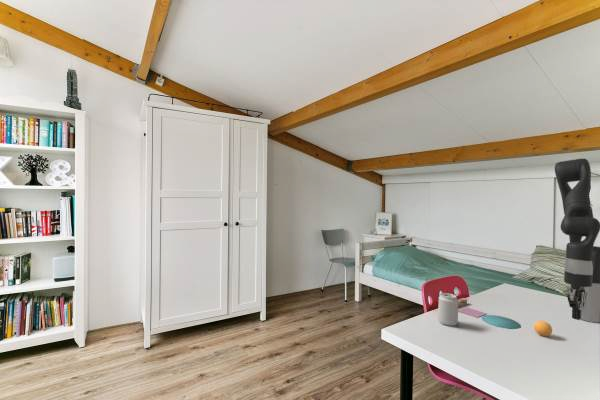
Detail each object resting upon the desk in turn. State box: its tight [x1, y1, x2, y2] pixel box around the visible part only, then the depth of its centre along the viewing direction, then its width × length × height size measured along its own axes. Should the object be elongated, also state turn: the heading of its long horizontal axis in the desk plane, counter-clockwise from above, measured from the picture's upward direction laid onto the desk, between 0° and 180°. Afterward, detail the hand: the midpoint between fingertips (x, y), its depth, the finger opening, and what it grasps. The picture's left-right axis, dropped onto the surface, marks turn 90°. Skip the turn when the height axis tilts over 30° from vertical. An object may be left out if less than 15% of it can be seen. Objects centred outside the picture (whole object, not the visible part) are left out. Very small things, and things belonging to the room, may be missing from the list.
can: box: [437, 292, 459, 327], centre depth 127 cm, size 8×8×12 cm
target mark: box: [481, 314, 522, 330], centre depth 130 cm, size 14×14×1 cm
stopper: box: [457, 297, 468, 308], centre depth 147 cm, size 20×2×2 cm, turn 124°
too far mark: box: [458, 307, 488, 318], centre depth 140 cm, size 9×9×1 cm
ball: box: [533, 320, 553, 337], centre depth 118 cm, size 6×6×6 cm
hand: (576, 318), depth 109 cm, fingers closed
